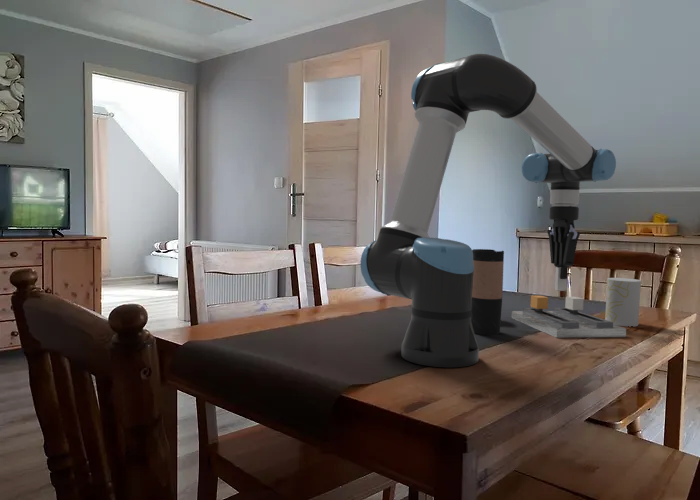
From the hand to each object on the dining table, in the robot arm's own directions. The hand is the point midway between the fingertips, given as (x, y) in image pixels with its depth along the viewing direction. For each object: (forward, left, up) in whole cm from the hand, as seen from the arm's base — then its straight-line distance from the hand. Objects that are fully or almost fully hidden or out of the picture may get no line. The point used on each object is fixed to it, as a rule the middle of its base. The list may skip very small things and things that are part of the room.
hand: (560, 290), depth 157 cm
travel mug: (-29, -16, -8) cm, 34 cm away
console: (-5, -11, -8) cm, 15 cm away
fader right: (0, -8, -6) cm, 10 cm away
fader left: (-9, -6, -6) cm, 12 cm away
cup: (+14, -7, -8) cm, 18 cm away
